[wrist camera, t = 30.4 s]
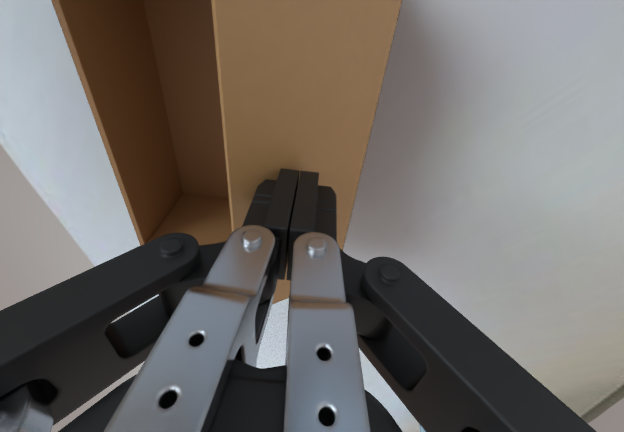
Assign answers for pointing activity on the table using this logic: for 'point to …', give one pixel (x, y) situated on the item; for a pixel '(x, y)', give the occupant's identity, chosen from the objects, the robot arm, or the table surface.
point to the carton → (156, 109)
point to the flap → (299, 93)
